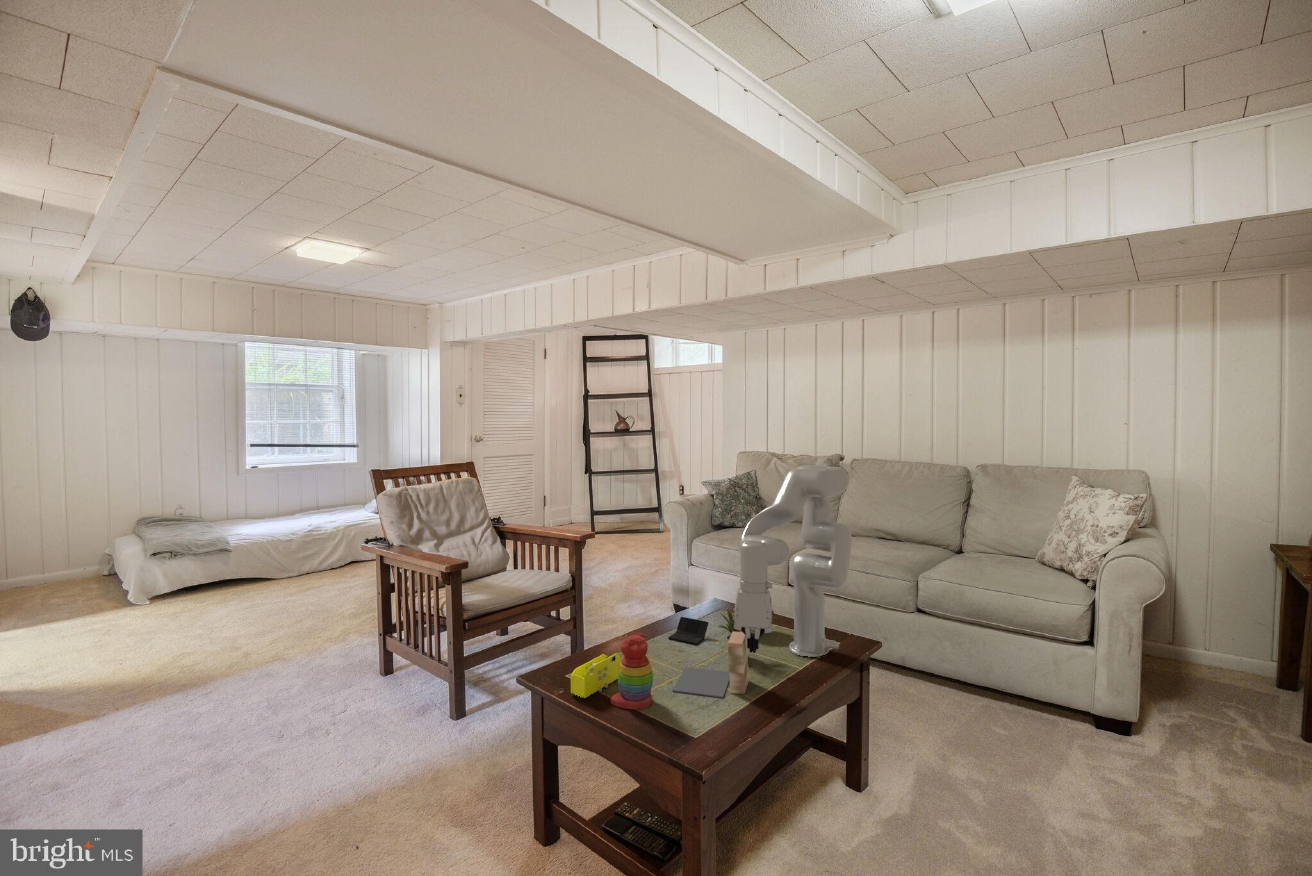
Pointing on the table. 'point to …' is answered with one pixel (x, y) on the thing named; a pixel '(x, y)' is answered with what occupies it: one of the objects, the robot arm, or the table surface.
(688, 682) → the mat
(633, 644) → the stacking bear
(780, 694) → the table surface
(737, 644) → the maple block
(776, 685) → the table surface
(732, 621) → the house plant
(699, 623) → the handheld gaming console
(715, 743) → the table surface
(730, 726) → the table surface
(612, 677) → the yellow toy chassis
